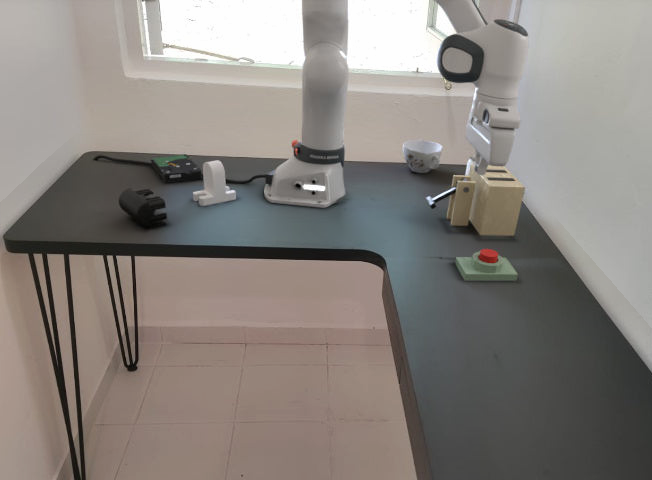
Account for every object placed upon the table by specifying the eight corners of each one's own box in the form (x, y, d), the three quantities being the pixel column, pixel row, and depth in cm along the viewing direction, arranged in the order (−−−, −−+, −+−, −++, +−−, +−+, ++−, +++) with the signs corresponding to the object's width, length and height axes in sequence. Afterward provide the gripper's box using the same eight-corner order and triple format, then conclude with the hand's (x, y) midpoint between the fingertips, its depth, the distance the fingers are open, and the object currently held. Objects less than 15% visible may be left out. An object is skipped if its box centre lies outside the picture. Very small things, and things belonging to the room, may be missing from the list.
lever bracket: (449, 232, 151) (457, 184, 144) (441, 219, 157) (448, 172, 150) (471, 232, 152) (480, 184, 145) (463, 220, 158) (471, 173, 151)
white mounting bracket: (236, 199, 157) (235, 162, 151) (202, 206, 151) (199, 167, 145) (226, 192, 160) (224, 156, 154) (192, 199, 154) (189, 161, 149)
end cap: (120, 217, 141) (116, 190, 137) (149, 211, 145) (146, 184, 142) (139, 232, 135) (135, 204, 131) (168, 225, 139) (165, 198, 136)
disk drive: (202, 180, 166) (186, 162, 176) (202, 170, 165) (185, 153, 175) (165, 184, 161) (150, 166, 171) (164, 174, 160) (149, 156, 170)
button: (481, 264, 130) (483, 256, 129) (476, 255, 133) (477, 248, 132) (499, 264, 131) (500, 257, 130) (493, 255, 134) (494, 248, 133)
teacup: (392, 165, 191) (395, 141, 187) (423, 161, 198) (426, 137, 193) (420, 181, 181) (423, 155, 177) (451, 176, 187) (455, 151, 183)
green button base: (464, 280, 129) (467, 266, 128) (455, 263, 136) (457, 249, 134) (516, 281, 131) (519, 267, 130) (504, 264, 138) (507, 250, 136)
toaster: (478, 239, 148) (489, 185, 141) (461, 213, 162) (470, 163, 154) (513, 240, 150) (526, 186, 142) (493, 214, 163) (503, 164, 156)
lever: (432, 211, 148) (429, 203, 147) (428, 203, 153) (424, 195, 151) (472, 190, 147) (469, 182, 146) (467, 183, 151) (463, 175, 150)
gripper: (465, 95, 131) (453, 156, 138) (493, 120, 114) (478, 188, 121) (492, 97, 132) (479, 158, 139) (524, 122, 115) (507, 190, 122)
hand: (479, 172), depth 130 cm, fingers closed
